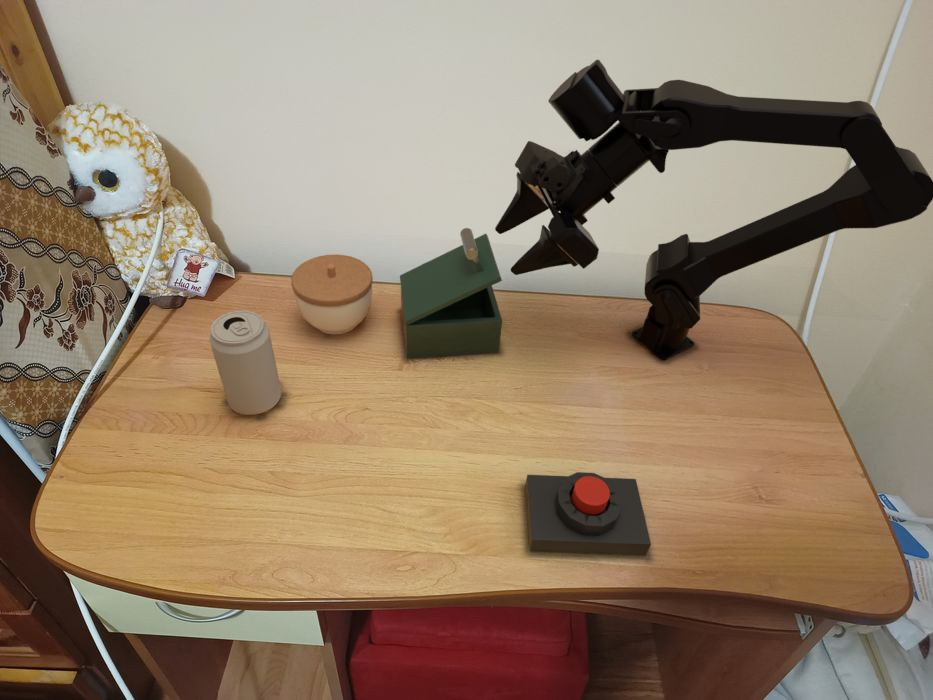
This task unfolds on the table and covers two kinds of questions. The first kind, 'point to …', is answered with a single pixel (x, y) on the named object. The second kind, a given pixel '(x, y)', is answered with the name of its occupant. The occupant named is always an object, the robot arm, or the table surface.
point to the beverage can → (245, 362)
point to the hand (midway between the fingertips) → (504, 251)
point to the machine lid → (449, 277)
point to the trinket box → (333, 292)
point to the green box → (456, 328)
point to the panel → (584, 518)
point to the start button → (590, 495)
